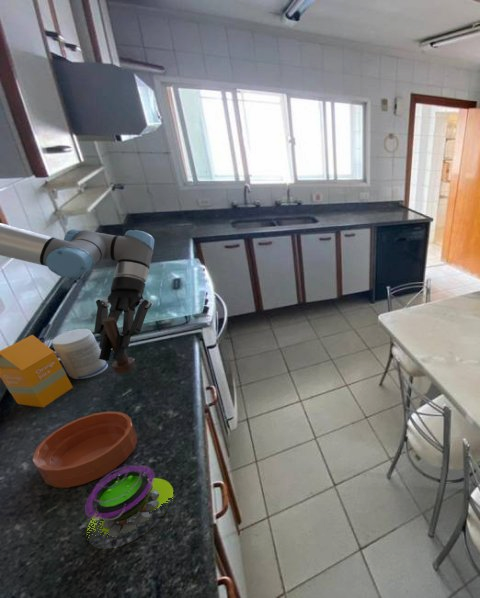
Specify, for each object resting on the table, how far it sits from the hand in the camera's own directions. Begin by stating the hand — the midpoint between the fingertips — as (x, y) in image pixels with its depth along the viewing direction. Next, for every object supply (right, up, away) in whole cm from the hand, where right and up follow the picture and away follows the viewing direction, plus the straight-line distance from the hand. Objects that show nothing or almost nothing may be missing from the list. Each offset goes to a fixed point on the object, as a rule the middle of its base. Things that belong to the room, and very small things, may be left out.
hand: (110, 359), depth 89 cm
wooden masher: (-1, -3, +6) cm, 7 cm away
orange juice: (-26, -14, +9) cm, 31 cm away
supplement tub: (-25, -9, +20) cm, 33 cm away
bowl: (+2, -23, -7) cm, 24 cm away
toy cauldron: (+21, -30, -18) cm, 41 cm away
